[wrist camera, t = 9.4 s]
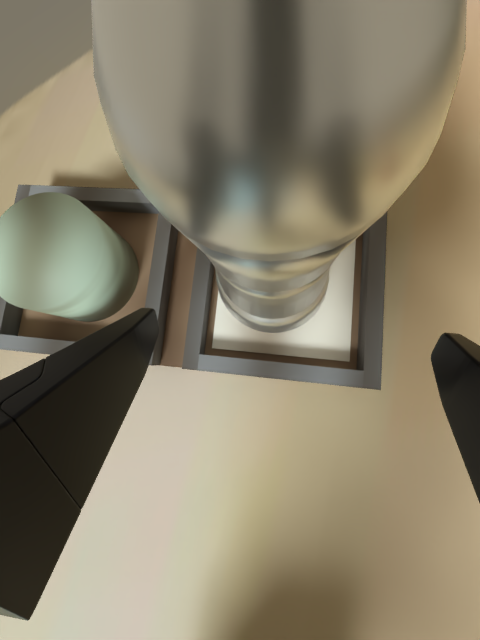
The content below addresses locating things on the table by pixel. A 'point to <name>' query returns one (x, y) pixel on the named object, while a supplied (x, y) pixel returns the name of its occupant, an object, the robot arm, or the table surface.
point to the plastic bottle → (275, 127)
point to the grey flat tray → (172, 291)
